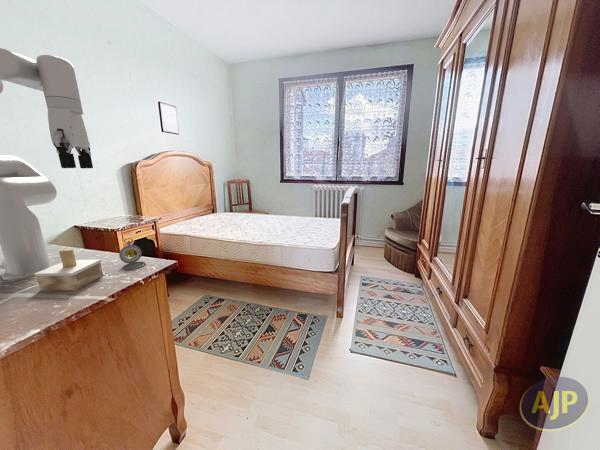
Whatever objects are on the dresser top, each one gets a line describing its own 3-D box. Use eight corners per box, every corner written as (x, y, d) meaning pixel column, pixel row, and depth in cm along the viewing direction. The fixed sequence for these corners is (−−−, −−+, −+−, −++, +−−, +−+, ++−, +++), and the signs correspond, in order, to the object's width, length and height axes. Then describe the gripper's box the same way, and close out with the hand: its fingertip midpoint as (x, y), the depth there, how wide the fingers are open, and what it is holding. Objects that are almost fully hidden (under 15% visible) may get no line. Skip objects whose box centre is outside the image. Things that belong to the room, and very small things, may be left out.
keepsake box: (40, 292, 70) (36, 276, 69) (72, 277, 79) (68, 262, 78) (76, 291, 70) (72, 275, 69) (103, 276, 80) (100, 262, 78)
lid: (34, 276, 68) (29, 256, 67) (68, 262, 78) (64, 244, 77) (72, 275, 68) (68, 256, 67) (101, 261, 79) (97, 244, 77)
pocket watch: (135, 272, 83) (130, 243, 80) (114, 270, 84) (108, 242, 82) (153, 263, 91) (149, 237, 88) (134, 261, 92) (129, 236, 90)
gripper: (67, 112, 77) (79, 168, 81) (25, 98, 61) (43, 168, 65) (95, 113, 80) (105, 168, 83) (62, 99, 63) (77, 167, 67)
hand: (78, 168), depth 74 cm, fingers open, 9 cm apart
